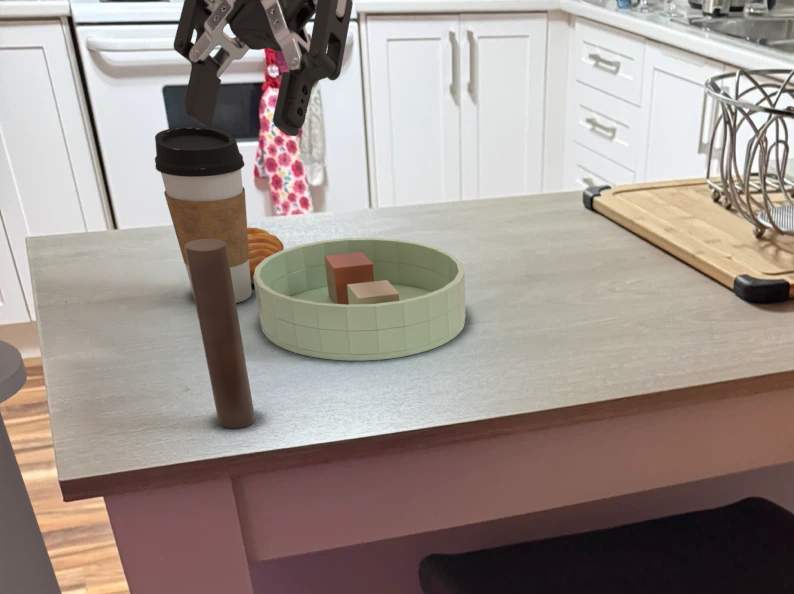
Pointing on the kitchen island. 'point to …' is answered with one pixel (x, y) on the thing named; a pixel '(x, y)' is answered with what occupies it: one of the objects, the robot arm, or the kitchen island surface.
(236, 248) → the coffee cup
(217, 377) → the brown tall cylinder
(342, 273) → the block terracotta
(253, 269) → the pastry
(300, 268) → the bowl
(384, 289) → the block cream
